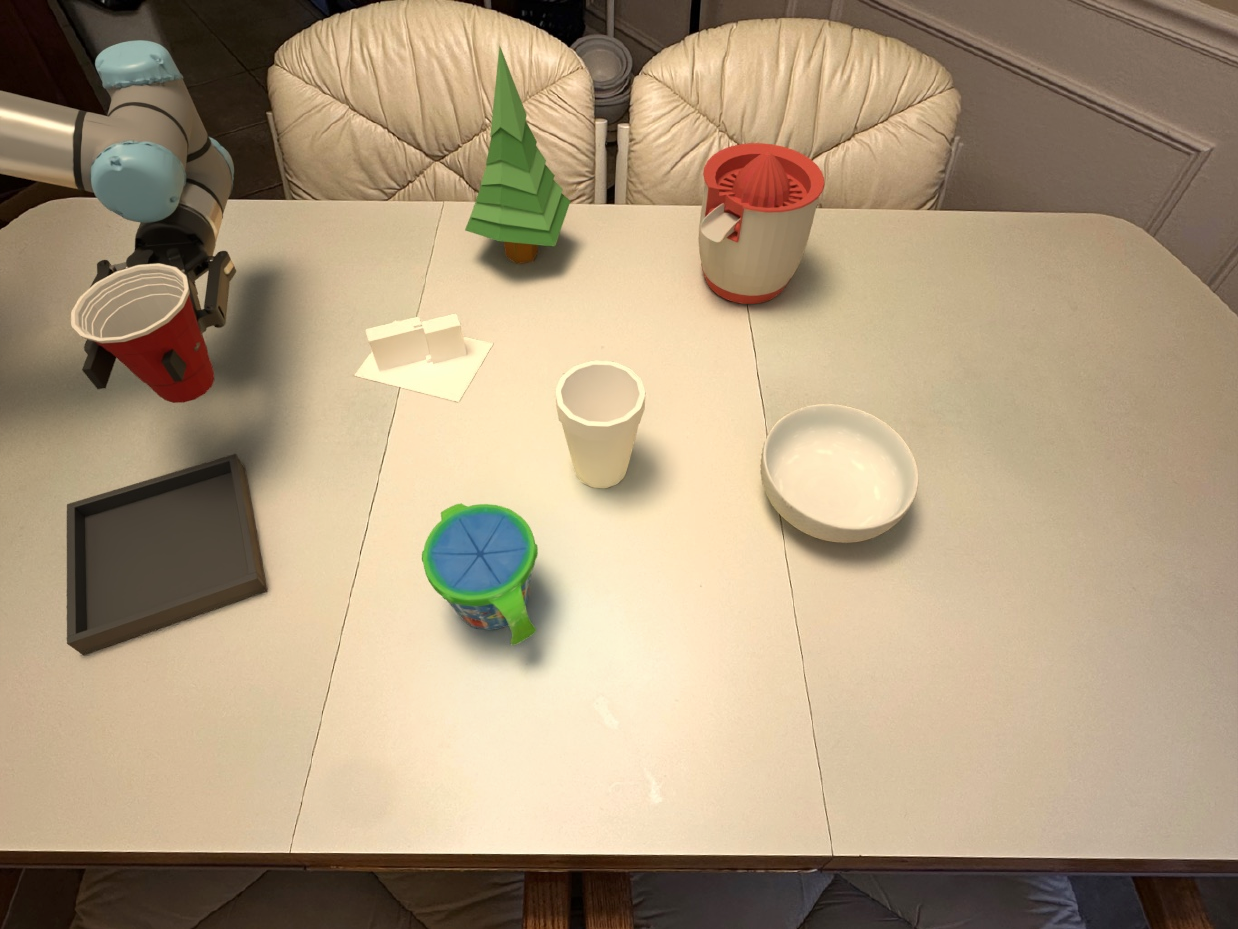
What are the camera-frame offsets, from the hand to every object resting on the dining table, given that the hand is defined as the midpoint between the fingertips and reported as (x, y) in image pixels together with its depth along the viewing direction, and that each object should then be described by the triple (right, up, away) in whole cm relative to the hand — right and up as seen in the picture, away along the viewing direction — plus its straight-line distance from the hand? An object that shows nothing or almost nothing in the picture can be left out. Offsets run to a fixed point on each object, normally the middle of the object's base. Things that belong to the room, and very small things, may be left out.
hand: (133, 375), depth 72 cm
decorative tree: (+32, +23, +41) cm, 57 cm away
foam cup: (+45, -9, +17) cm, 49 cm away
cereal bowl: (+71, -13, +14) cm, 73 cm away
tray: (-1, -18, +9) cm, 20 cm away
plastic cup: (0, 0, +8) cm, 8 cm away
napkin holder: (+21, +5, +27) cm, 35 cm away
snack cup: (+34, -23, +6) cm, 41 cm away
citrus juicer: (+65, +18, +37) cm, 77 cm away
